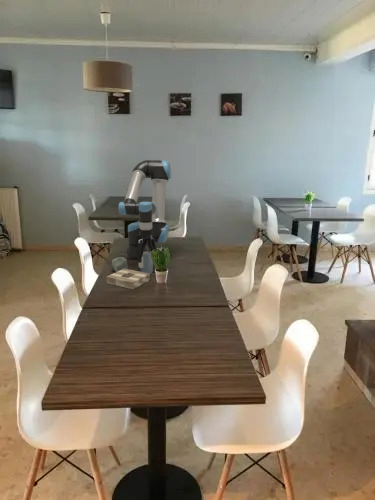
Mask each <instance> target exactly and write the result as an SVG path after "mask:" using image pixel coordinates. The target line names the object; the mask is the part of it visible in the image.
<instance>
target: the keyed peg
mask: <svg viewBox="0 0 375 500" xmlns="http://www.w3.org/2000/svg"><path fill="white" fill-rule="evenodd" d="M142 257H143V268H140V272H143V273H148V274H150V275H152V274H153V273H154V269H153V268H154V267H153V266H154V263H153V261H152V258H151V253H150V251H148V252H143V255H142ZM152 272H153V273H152Z"/></svg>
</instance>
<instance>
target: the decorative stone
mask: <svg viewBox="0 0 375 500" xmlns="http://www.w3.org/2000/svg"><path fill="white" fill-rule="evenodd" d="M111 264H112V268H113V270H114V271H115V273H116V272H118V271H120V270H122V269H129V266H128V260H127V258H126V257H121V256H119V257H116V258H113V259H112V260H111Z"/></svg>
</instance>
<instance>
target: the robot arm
mask: <svg viewBox="0 0 375 500" xmlns="http://www.w3.org/2000/svg"><path fill="white" fill-rule="evenodd" d="M130 175H131V176H130V177H131V179H130V183H129V185H128V188H127V192H126V194H125V197H124V200H123V201H120V202H119V203H118V208H117V209H118V214H119V215H124V216H125V215H126V216H138V219H139V220H138V221H135V222H132V223H130V224H128V225H127V236H128V237H127V239H128V241H127V242H128V243H127V244H128V247H127V250H126V253H125V258H126V259H129V260H133V261H134V260H136V261H138V268H140V269H141V268H143V257H142V255H143V252H149V253H151V251H152V250H153V249H156V250H157V246H156V243H157V244H159V243H161V244H162V243H166V242H167V240H168V237H169V231H170V229H169V227H170V226H169V225H168V224H167V221H166V220H165V217H166V216H165V212H166V195H167V194H166V192H167V191H166V190H167V184H168V182H169V179H171V178H172V169H171V164H170V161H168V160H163V159H161V160H159V159H158V160H157V159H155V160H154V159H150V160H149V159H146V160H142V161H139V163H137V164H136V165H135V166H134V168H133V169H132V171H131V173H130ZM146 179H150V182H151V183H152V199H151V201H141V202H138V199H139V196H140V193H141V189H142V185H143V183H144V181H145V180H146ZM148 248H149V251H148Z"/></svg>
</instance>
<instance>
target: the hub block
mask: <svg viewBox="0 0 375 500" xmlns="http://www.w3.org/2000/svg"><path fill="white" fill-rule="evenodd" d="M149 280H150V281H151V274H148V273H143V272H141V271H137V270H133V269H129V268H128V269H122V270H120V271H118V272H116V271H115V272H113V273H111V274H109V275H107V276H106V284H108V285H113V286H116V287H121V288H126V289H129V290H135V289H136V288H138V287H141V286H142V285H144V284H146V283H148V282H149Z"/></svg>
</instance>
